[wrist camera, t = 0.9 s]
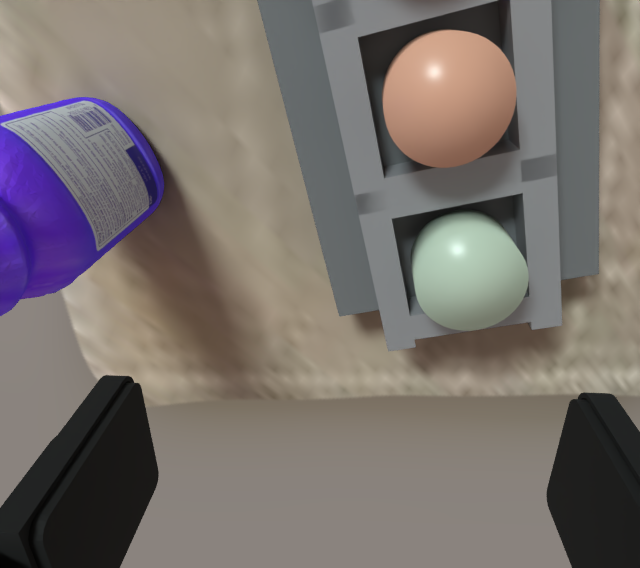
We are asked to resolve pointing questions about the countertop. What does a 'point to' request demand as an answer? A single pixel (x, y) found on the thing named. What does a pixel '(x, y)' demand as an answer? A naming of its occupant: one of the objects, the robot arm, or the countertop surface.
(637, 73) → the countertop surface
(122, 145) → the bottle
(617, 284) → the countertop surface
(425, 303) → the sage button
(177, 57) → the countertop surface
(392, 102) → the peach rounded dome
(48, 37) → the countertop surface
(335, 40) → the grey compartment tray
